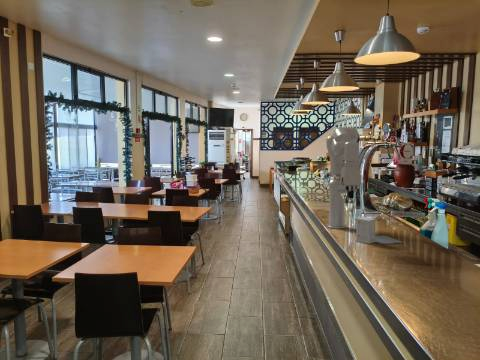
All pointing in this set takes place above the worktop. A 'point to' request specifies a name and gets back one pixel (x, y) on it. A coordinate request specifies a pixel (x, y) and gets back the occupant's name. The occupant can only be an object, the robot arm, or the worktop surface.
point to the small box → (365, 230)
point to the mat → (386, 240)
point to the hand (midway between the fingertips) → (350, 198)
